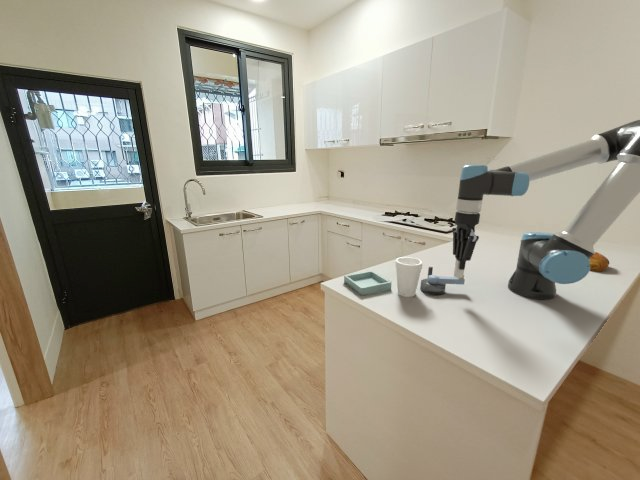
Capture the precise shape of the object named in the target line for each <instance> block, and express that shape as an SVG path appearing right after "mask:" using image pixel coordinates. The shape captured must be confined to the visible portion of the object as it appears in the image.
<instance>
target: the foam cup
mask: <svg viewBox="0 0 640 480" xmlns="http://www.w3.org/2000/svg"><path fill="white" fill-rule="evenodd" d="M422 269H423V261H422V260H421V259H419V258H416V257H411V256H401V257H397V258H396V259H395V270H396V271H395V272H396V283H397V284H396V285H397V294H398V295H399V296H402V297H405V298H412V297H414V296H415V295H416V291H417V289H418V288H417V287H418V284H419V280H420V276H421V272H422Z"/></svg>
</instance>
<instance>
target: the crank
mask: <svg viewBox="0 0 640 480" xmlns="http://www.w3.org/2000/svg"><path fill="white" fill-rule="evenodd" d="M464 277H465V275H463V277H457V278H456V277H455V276H443V275H442V276H438V275H436V274H432V275H429V276H428V275H427V279H428V283H430V284H446V285H465V281H466V280H465V278H464Z"/></svg>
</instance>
